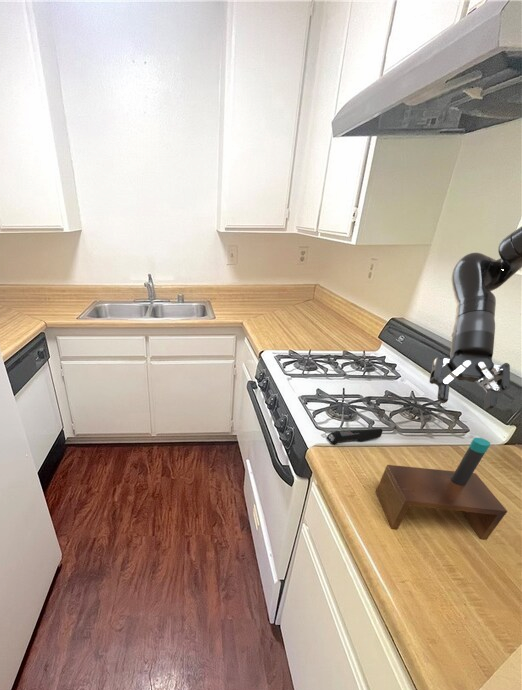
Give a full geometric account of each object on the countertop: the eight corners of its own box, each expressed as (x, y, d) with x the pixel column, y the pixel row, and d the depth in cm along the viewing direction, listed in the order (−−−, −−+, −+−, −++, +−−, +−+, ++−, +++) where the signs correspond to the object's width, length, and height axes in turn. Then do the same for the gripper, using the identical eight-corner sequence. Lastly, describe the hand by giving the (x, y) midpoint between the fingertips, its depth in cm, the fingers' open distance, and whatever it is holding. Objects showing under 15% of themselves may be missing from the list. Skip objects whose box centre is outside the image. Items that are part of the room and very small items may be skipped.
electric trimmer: (382, 441, 96) (386, 432, 95) (332, 445, 94) (335, 436, 92) (374, 434, 100) (378, 425, 98) (325, 438, 97) (328, 428, 95)
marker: (462, 477, 71) (485, 438, 66) (468, 486, 69) (493, 446, 64) (448, 476, 72) (470, 436, 66) (454, 485, 69) (478, 444, 64)
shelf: (459, 500, 77) (475, 473, 73) (486, 539, 68) (507, 511, 64) (375, 491, 79) (386, 464, 75) (391, 529, 70) (405, 500, 66)
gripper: (445, 325, 76) (437, 394, 73) (521, 332, 72) (516, 405, 69) (429, 341, 83) (422, 405, 80) (498, 349, 79) (493, 416, 76)
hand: (465, 405), depth 75 cm, fingers open, 8 cm apart
